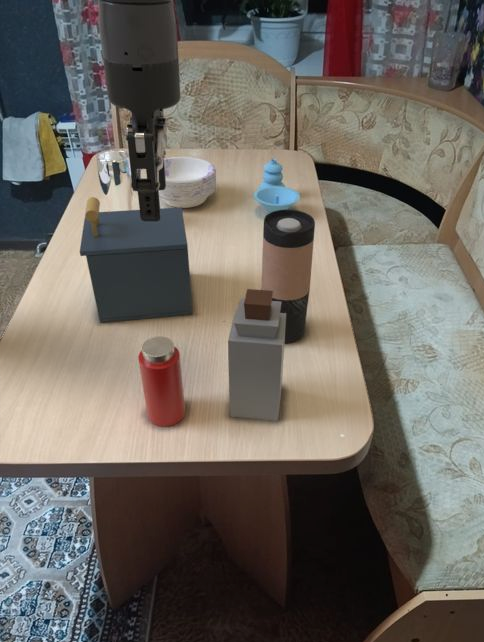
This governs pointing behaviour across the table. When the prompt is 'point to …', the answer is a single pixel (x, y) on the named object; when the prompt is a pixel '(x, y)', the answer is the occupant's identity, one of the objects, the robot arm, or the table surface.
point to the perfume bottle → (256, 357)
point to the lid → (130, 231)
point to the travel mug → (288, 265)
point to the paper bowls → (188, 181)
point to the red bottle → (162, 381)
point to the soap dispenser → (275, 189)
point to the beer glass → (115, 179)
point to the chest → (141, 284)
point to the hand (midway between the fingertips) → (154, 203)
